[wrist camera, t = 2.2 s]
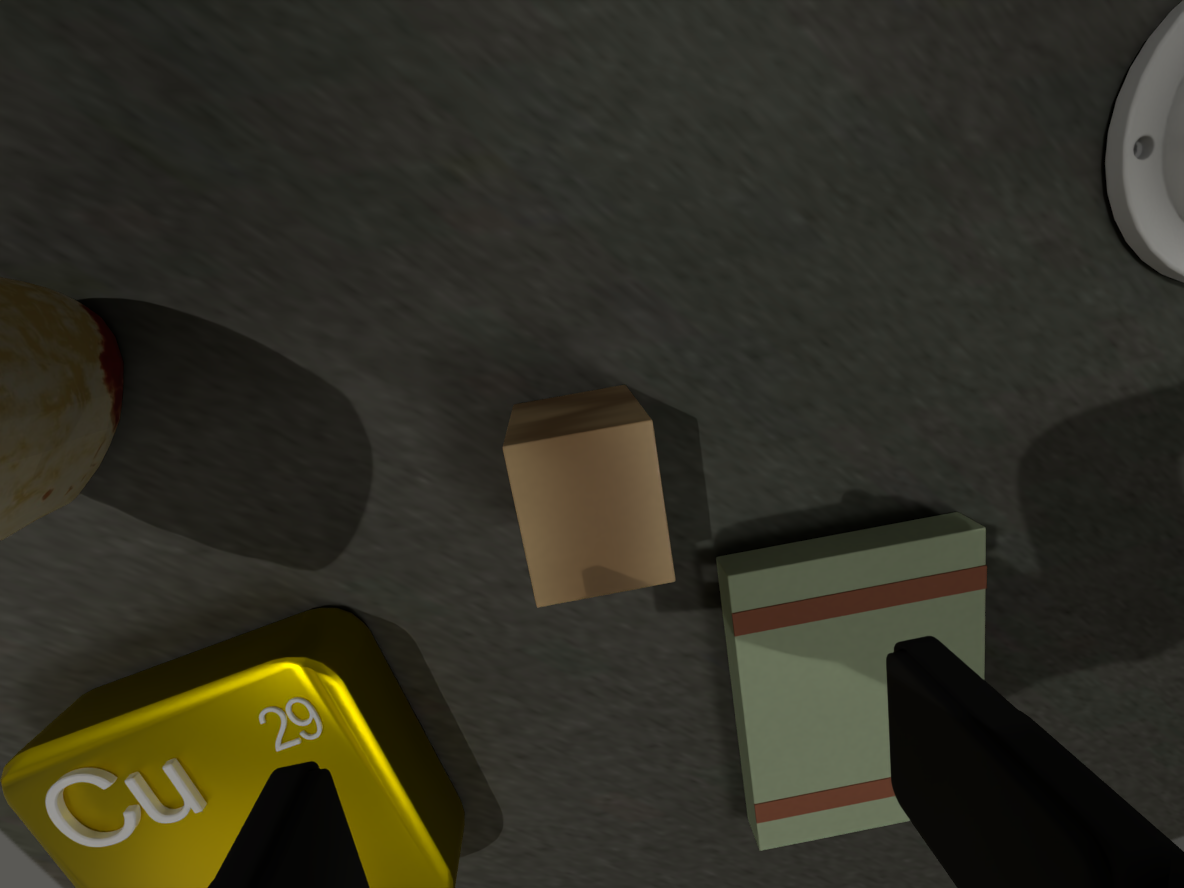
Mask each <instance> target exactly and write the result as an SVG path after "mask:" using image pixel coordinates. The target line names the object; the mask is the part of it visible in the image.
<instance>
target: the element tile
mask: <svg viewBox="0 0 1184 888" xmlns="http://www.w3.org/2000/svg"><path fill="white" fill-rule="evenodd" d="M310 761H314V762H316V763H317V764H318V766H319V768H320V769H324V768H325V769H328V770H329V771H330V773H331V775H332V778H333V781H334V784H335V787H336V790H337V793H338V796H339V799H340V802H341V805H342V808H343V811H344V814H345V816H346V819H347V822H348V825H349V828H350V831H351V834H352V837H353V840H354V843H355V846H356V849H357V852H358V855H359V858H360V860H361V863H362V866H363V869H364V872H365V875H366V878H367V881H368V884H369V887H370V888H455V884H456V877H457V871H458V864H459V857H460V851H461V844H462V837H463V831H464V809H463V806H462V803H461V800H460V798H459V796H458V794H457V792H456V791H455V789H454V787H453V785H452V783H451V781H450V779H449V777H448V776H447V774H446V772H445V770H444V768H443V766H442V764H441V763H440V761H439V759H438V757H437V755H436V753H435V751H434V749H433V748H432V746H431V744H430V742H429V740H428V738H427V736H426V734H425V733H424V731H423V729H422V727H421V725H420V723H419V721H418V719H417V718H416V716H415V714H414V712H413V710H412V708H411V706H410V704H409V703H408V701H407V699H406V697H405V695H404V693H403V691H402V690H401V688H400V686H399V684H398V682H397V680H396V678H395V676H394V675H393V673H392V671H391V669H390V667H389V665H388V663H387V661H386V660H385V658H384V656H383V654H382V652H381V650H380V648H379V646H378V645H377V643H376V641H375V639H374V637H373V635H372V633H371V631H370V630H369V628H368V627H367V626H366V625H365V624H364V623H363V622H362V621H361V620H360V619H359V618H357V617H356V616H355V615H354V614H352V613H351V612H348V611H345V610H342V609H340V608H316V609H311V610H308V611H305V612H302V613H299V614H297V615H294V616H291V617H288V618H286V619H283V620H280V621H278V622H275V623H272V624H269V625H267V626H264V627H261V628H258V629H256V630H253V631H250V632H248V633H245V634H242V635H239V636H237V637H234V638H231V639H228V640H226V641H223V642H220V643H218V644H215V645H212V646H209V647H207V648H204V649H201V650H199V651H196V652H193V653H190V654H188V655H185V656H182V657H179V658H177V659H174V660H171V661H169V662H166V663H163V664H160V665H158V666H155V667H152V668H149V669H147V670H144V671H141V672H139V673H136V674H133V675H130V676H128V677H125V678H122V679H119V680H117V681H114V682H111V683H109V684H106V685H103V686H100V687H98V688H95V689H93V690H91V691H89V692H87V693H86V694H84V695H82V696H81V697H79V698H78V699H77V700H76V701H75V702H74V703H73V704H72V705H71V706H69V707H68V708H67V709H66V710H65V711H64V712H63V713H62V714H60V715H59V716H58V717H57V718H56V719H55V720H54V721H53V722H52V723H50V724H49V725H48V726H47V727H46V728H45V729H44V730H43V731H41V732H40V733H39V734H38V735H37V736H36V737H35V738H34V739H33V740H31V741H30V742H29V743H28V744H27V745H26V746H25V747H24V748H22V749H21V750H20V751H19V752H18V753H17V754H16V755H15V756H14V757H13V758H12V759H11V760H10V761H9V762H8V763H7V764H6V765H5V767H4V770H3V774H2V777H1V784H2V789H3V793H4V796H5V798H6V800H7V802H8V804H9V805H10V807H11V808H12V809H13V810H14V812H15V813H16V814H17V815H18V817H19V818H20V819H21V820H22V821H23V823H24V824H25V825H26V826H27V828H28V829H29V830H30V831H31V833H32V834H33V835H34V836H35V838H36V839H37V840H38V841H39V843H40V844H41V845H42V846H43V848H44V849H45V850H46V851H47V853H48V854H49V855H50V856H51V858H52V859H53V860H54V861H55V863H56V864H57V865H58V866H59V868H60V869H61V870H62V871H63V873H64V874H65V875H66V876H67V877H68V879H69V880H70V881H71V882H72V884H73V885H74V886H75V887H76V888H208V886H209V885H210V883H211V882H212V881H213V880H214V878H215V876H216V874H217V873H218V871H219V869H220V867H221V865H222V863H223V862H224V860H225V858H226V856H227V854H228V852H229V850H230V849H231V847H232V845H233V843H234V841H235V839H236V838H237V836H238V834H239V832H240V830H241V828H242V826H243V825H244V823H245V821H246V819H247V817H248V815H249V814H250V812H251V810H252V808H253V806H254V804H255V802H256V801H257V799H258V797H259V795H260V793H261V791H262V790H263V788H264V786H265V784H266V782H267V780H268V778H269V777H270V775H271V774H272V772H273V771H274V770H275V769H277V768H280V767H285V766H290V765H295V764H300V763H305V762H310Z"/></svg>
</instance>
